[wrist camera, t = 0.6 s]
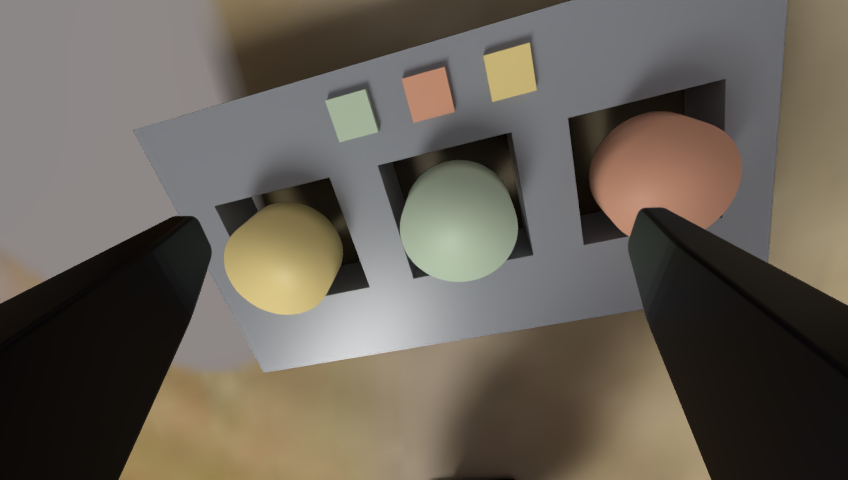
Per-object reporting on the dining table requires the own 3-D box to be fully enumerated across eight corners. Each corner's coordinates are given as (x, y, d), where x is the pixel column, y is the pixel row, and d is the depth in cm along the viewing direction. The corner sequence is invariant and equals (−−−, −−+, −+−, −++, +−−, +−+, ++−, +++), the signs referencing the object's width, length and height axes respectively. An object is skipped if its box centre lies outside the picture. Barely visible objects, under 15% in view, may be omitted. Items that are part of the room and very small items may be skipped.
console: (725, 256, 21) (770, 292, 18) (284, 336, 25) (261, 376, 22) (734, -47, 16) (799, -68, 13) (177, 118, 20) (127, 131, 17)
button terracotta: (691, 197, 18) (739, 229, 15) (585, 219, 19) (610, 254, 16) (690, 92, 16) (744, 104, 13) (573, 121, 17) (599, 139, 14)
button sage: (515, 233, 19) (526, 270, 16) (423, 253, 20) (417, 290, 17) (497, 140, 18) (506, 161, 14) (397, 165, 18) (385, 190, 15)
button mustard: (362, 265, 21) (345, 304, 18) (281, 282, 21) (251, 322, 18) (331, 181, 19) (307, 208, 16) (244, 202, 20) (204, 232, 17)
